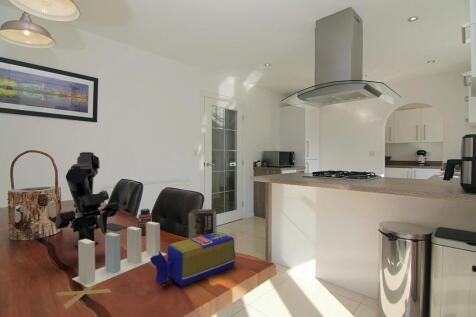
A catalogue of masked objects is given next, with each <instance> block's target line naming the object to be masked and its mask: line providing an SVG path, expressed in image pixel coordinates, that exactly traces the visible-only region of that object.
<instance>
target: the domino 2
mask: <svg viewBox="0 0 476 317" xmlns="http://www.w3.org/2000/svg"><path fill="white" fill-rule="evenodd" d="M104 246H105V247H104V252H105V254H104V258H105V261H104V264H105V265H104V267H105V269H106V270H108V271H110V272H113V273H116V272H119V271H121V262H120V261H121V234H119V233H116V232H113V231H110V232H107V233H106V234H105V236H104Z"/></svg>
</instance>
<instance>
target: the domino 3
mask: <svg viewBox="0 0 476 317" xmlns="http://www.w3.org/2000/svg"><path fill="white" fill-rule="evenodd" d="M127 227H128V228H126V254H127V256H126V258H127V261H130V262H132V263H135V264H138V263H140V262H142V252H143V250H142V242H143V241H142V235H141V228H138V227H136V226H127Z"/></svg>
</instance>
